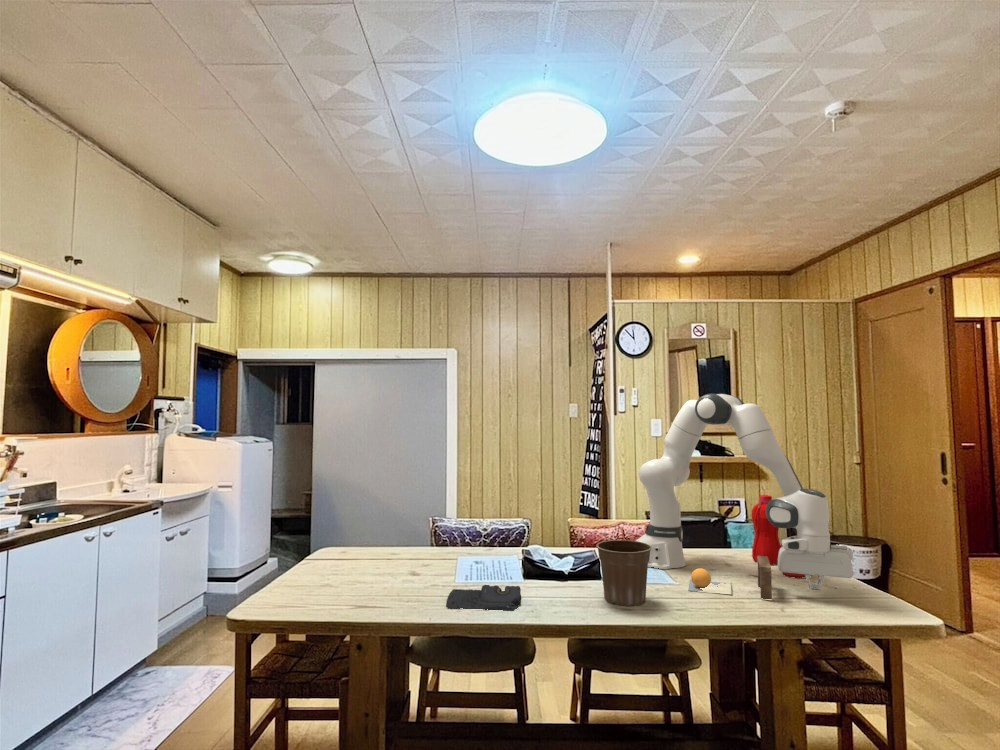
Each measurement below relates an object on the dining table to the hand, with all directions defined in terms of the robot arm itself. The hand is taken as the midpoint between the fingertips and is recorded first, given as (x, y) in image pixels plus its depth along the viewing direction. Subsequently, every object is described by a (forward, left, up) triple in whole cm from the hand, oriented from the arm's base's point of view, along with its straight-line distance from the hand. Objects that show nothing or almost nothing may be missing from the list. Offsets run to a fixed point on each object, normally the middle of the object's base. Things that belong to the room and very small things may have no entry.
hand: (814, 589), depth 178 cm
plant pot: (-54, -23, -3) cm, 59 cm away
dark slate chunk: (-92, -40, -3) cm, 101 cm away
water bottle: (-11, +42, -3) cm, 44 cm away
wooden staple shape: (-14, 0, -3) cm, 14 cm away
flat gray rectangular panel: (-30, 0, -3) cm, 30 cm away
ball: (-33, -1, 0) cm, 33 cm away
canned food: (-3, +26, -3) cm, 26 cm away
